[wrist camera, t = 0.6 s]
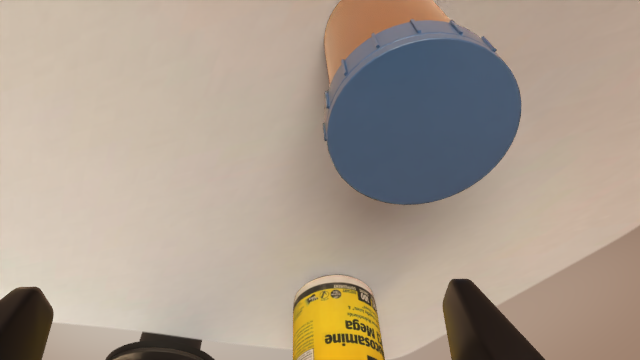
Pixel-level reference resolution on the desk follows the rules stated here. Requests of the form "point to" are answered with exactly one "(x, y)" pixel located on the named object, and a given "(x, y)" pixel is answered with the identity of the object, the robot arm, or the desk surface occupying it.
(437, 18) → the jar
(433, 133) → the jar lid
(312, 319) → the pill bottle
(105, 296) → the desk surface
